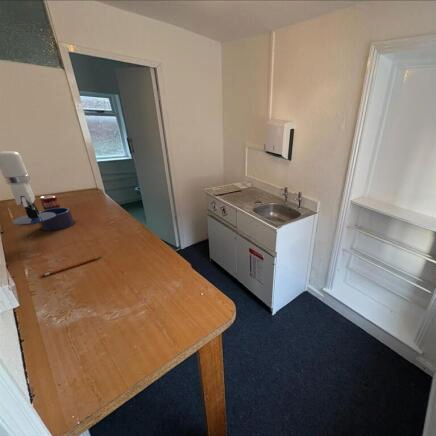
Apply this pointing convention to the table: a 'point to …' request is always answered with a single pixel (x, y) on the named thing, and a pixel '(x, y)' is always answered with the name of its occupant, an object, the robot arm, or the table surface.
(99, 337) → the table surface
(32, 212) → the robot arm
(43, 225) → the pot
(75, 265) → the pencil
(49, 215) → the lid
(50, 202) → the soda can
